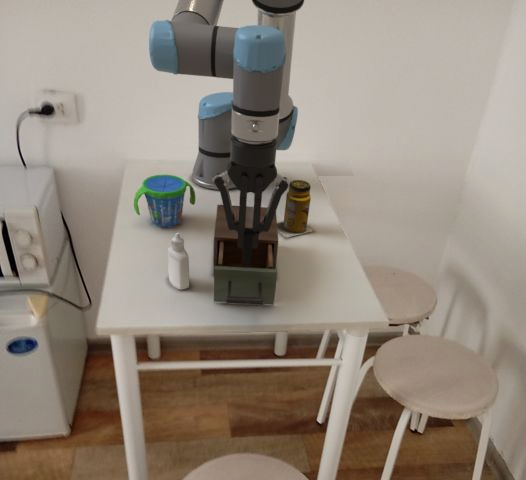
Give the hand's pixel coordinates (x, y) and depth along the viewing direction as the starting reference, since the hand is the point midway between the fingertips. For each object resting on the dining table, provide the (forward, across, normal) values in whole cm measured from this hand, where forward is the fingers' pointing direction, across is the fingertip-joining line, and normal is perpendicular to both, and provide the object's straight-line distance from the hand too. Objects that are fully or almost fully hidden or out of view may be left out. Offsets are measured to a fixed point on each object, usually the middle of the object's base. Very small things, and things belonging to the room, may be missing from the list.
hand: (246, 261), depth 105 cm
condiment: (+12, +12, +38) cm, 41 cm away
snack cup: (+12, -20, +38) cm, 44 cm away
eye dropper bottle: (+12, -14, +10) cm, 21 cm away
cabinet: (+12, 0, +21) cm, 24 cm away
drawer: (+11, 0, +6) cm, 13 cm away
